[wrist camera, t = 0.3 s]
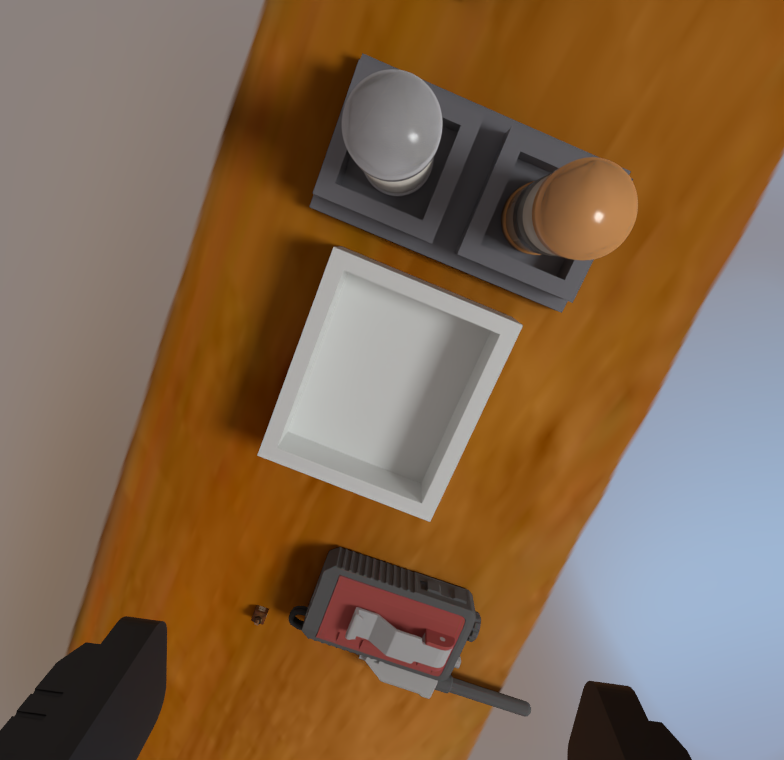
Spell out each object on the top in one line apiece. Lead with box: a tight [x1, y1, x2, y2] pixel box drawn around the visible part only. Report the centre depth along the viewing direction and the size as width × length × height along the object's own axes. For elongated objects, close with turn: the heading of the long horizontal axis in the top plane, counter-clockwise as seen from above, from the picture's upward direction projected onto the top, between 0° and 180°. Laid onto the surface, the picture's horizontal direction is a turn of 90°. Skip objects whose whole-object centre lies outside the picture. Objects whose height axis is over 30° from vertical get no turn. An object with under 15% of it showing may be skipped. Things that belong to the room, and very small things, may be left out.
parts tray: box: [258, 246, 523, 522], centre depth 35 cm, size 14×12×4 cm
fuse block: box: [310, 54, 633, 313], centre depth 32 cm, size 17×9×3 cm, turn 68°
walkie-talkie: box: [289, 547, 531, 716], centre depth 40 cm, size 9×4×20 cm
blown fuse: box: [501, 157, 638, 260], centre depth 28 cm, size 4×4×10 cm
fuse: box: [342, 69, 443, 197], centre depth 27 cm, size 4×4×10 cm
